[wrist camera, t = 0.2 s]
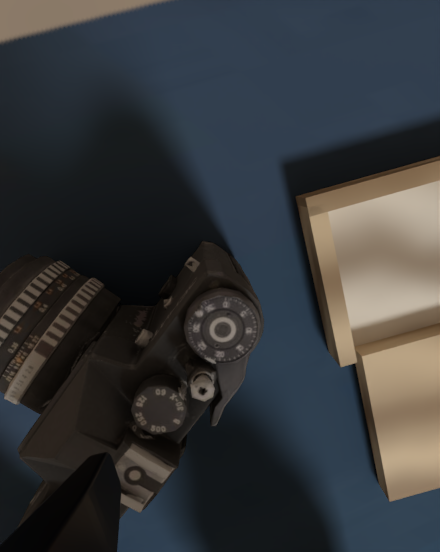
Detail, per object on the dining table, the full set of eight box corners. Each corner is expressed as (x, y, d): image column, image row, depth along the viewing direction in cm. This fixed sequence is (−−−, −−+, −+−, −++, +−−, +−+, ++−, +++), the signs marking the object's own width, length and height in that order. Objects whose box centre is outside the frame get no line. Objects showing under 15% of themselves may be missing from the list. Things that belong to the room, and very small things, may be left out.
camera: (98, 160, 21) (15, 143, 11) (259, 271, 23) (308, 337, 13) (-27, 363, 23) (-186, 495, 13) (130, 446, 25) (90, 613, 15)
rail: (495, 451, 27) (518, 472, 25) (358, 490, 27) (371, 514, 25) (465, 148, 22) (492, 145, 20) (295, 196, 22) (305, 198, 20)
